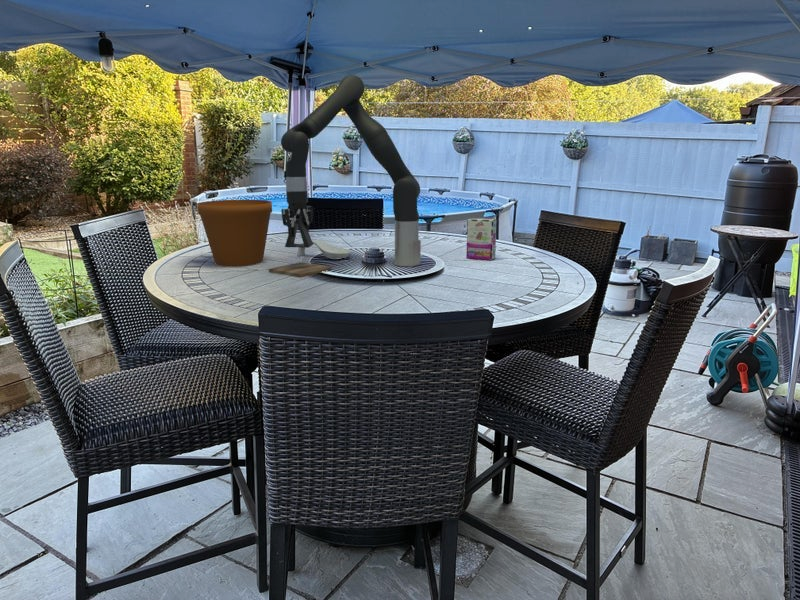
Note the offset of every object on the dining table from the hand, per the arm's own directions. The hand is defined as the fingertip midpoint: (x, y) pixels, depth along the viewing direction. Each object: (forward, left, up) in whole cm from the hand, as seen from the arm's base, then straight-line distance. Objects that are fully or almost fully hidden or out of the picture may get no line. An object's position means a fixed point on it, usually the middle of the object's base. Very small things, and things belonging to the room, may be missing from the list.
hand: (298, 236), depth 210 cm
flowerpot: (+33, +1, -13) cm, 35 cm away
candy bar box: (-43, -61, -13) cm, 76 cm away
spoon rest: (+12, -25, -13) cm, 31 cm away
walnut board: (0, 0, -13) cm, 13 cm away
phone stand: (0, 0, -4) cm, 4 cm away
